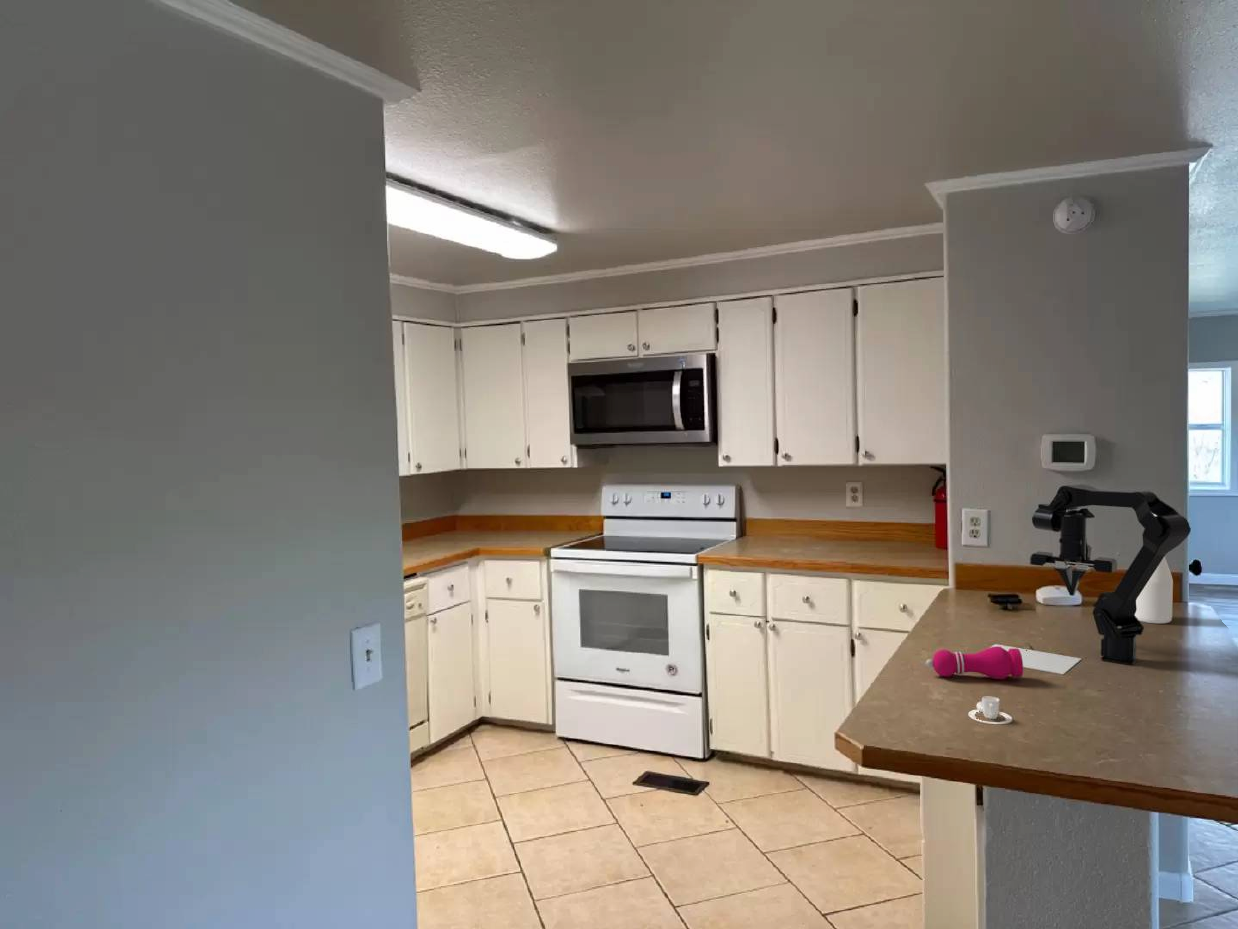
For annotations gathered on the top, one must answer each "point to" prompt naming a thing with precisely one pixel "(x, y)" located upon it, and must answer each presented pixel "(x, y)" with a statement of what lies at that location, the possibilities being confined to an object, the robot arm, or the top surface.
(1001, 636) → the top surface
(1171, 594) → the wine bottle
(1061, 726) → the top surface
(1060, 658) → the rubber mat
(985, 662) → the pepper mill
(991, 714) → the teacup and saucer
